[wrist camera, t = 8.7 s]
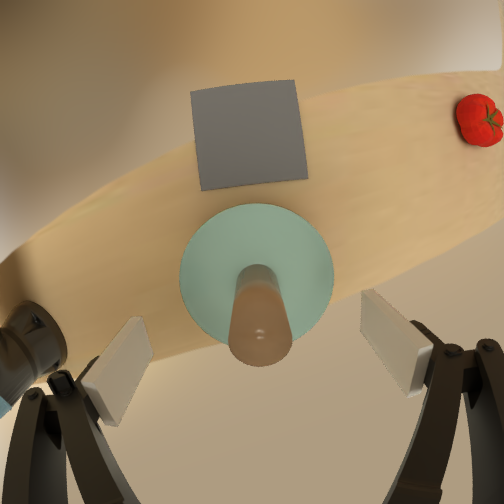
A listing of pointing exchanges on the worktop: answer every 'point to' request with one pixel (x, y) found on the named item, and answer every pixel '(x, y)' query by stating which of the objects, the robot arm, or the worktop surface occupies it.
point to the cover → (256, 280)
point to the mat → (248, 134)
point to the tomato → (480, 120)
